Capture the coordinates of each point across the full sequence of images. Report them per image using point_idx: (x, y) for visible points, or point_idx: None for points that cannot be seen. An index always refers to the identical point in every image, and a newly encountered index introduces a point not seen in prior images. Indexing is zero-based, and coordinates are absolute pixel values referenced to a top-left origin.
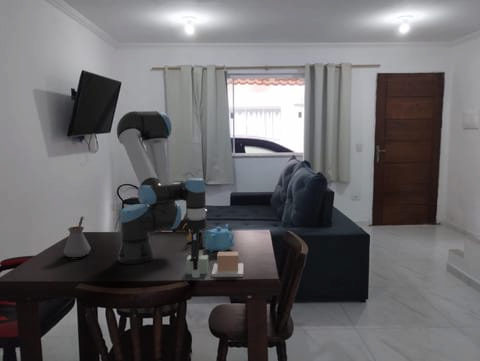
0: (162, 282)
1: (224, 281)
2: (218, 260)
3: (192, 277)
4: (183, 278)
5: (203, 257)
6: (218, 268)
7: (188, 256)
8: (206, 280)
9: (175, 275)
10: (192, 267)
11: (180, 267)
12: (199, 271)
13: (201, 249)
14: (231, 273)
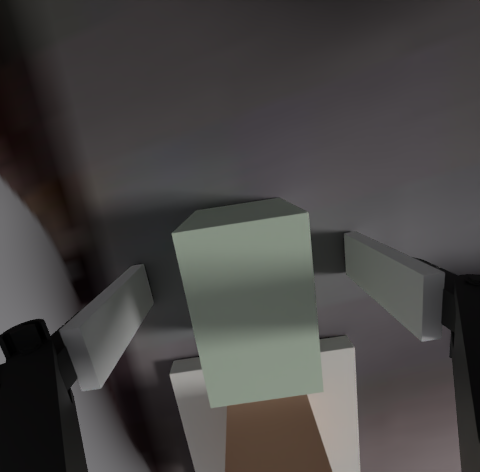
0: (6, 87)
1: (127, 426)
2: (226, 468)
3: (132, 266)
4: (115, 211)
5: (255, 370)
6: (227, 408)
7: (271, 225)
8: None
9: (155, 138)
10: (99, 299)
11: (318, 122)
12: (140, 322)
13: (452, 327)
14: (196, 460)
